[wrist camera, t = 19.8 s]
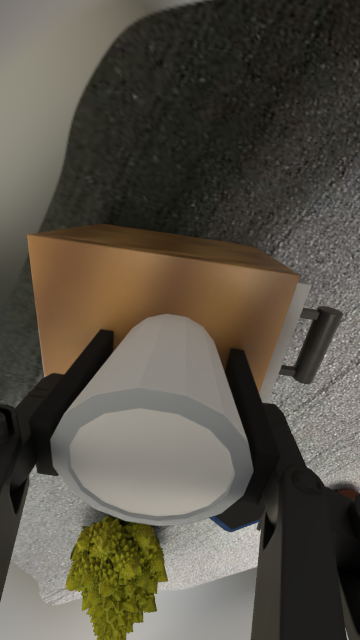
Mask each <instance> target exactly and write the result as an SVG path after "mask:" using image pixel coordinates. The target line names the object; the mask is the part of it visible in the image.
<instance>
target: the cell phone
mask: <svg viewBox="0 0 360 640" xmlns="http://www.w3.org/2000/svg"><path fill="white" fill-rule="evenodd" d="M265 509H266V508H265V504H264V499H263V496H262V498H261V500H260V503H259V505H255V504H248V503H241V502H238V500H237V501H236V502H235V503H233V504H232V505H231V506H230V507H228V508H227V509H226V510H225V511H224V512H222V513H221V514H218V515H215V516H212V517H209V518H210V519H211V520H212V521H214V522H215V523H216V524H218V525H219V526H220V527H221V528H223V529H224V530H226V531H228V532H233V531H236V530H239V529H241V528H244V527H247V526H249V525H252V524H255V523H257V522H259V521H260V519H261V517H262V515H263V513H264V511H265Z"/></svg>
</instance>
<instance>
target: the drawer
mask: <svg viewBox="0 0 360 640" xmlns="http://www.w3.org/2000/svg"><path fill="white" fill-rule="evenodd" d="M311 286H312V285H311V284H310V283H308V282H306V281H305V280H303V279H302V278H299V281H298V283H297V286H296V289H295V292H294V295H293V298H292V301H291V304H290V306H289V309H288V312H287V315H286V318H285V321H284V324H283V327H282V329H281V332H280V335H279V338H278V341H277V344H276V347H275V350H274V352H273V355H272V358H271V361H270V364H269V367H268V370H267V373H266V375H265V378H264V381H263V384H262V387H261V390H260V393H259V395H260V397H261V400H262V403H268V401H269V398H270V395H271V393H272V390H273V387H274V385H275V382H276V379H277V377H278V374H280V375H287V376H292V377H293V378H294V379H295V380H296V381H298V382H300V383H303V384H311V383H312V382H313V379H314V377H315V375H316V373H317V371H318V368H319V366H320V364H321V362H322V360H323V357H324V355H325V353H326V351H327V349H328V346H329V344H330V342H331V340H332V338H333V335H334V333H335V331H336V329H337V327H338V324H339V322H340V320H341V318H342V316H343V313H342V312H340V311H338V310H336V309H334V308H330V307H325V306H319V307H318V308H317V310H315V309H308V308H303V307H304V305H305V302H306V299H307V297H308V294H309V291H310V289H311ZM299 318H306V319H313V321H312V323H311V326H310V328H309V331H308V333H307V336H306V338H305V341H304V343H303V346H302V348H301V351H300V353H299V356H298V358H297V361H296V363H295V366H294V367H292V366H286V365H282V363H283V361H284V358H285V355H286V353H287V350H288V347H289V345H290V342H291V339H292V337H293V334H294V331H295V329H296V326H297V323H298V321H299Z"/></svg>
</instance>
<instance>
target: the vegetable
mask: <svg viewBox="0 0 360 640" xmlns="http://www.w3.org/2000/svg"><path fill="white" fill-rule="evenodd" d="M82 528H83V529H84V530H82V531H81V534H80V535H79V538H78V540H77V543H76V545H75V546H74V548H73V550H72V553H71V558H70V559H71V561H74V562H73V563H72V564H71V565H72V567H71V569H70V570H69V572H70V573H69V574H68V576H67V578H68V579H67V581H66V589H67V590H70V591H73V590H76V591H77V590H78V592H80V591H83V592H82V594H81V595H82V596H83V598H82V599H83V602H82V611H83V610H85V609H88V608H89V610H88V612H87V614H90V617H92V618H91V621H90V622H93V626H92V627H94V632H95V635H97V636H98V638H97V640H126V632H127V633H129V632H133V623H140V622H143V611H144V612H154V611H157V609H156V604H155V597H154V593H155V594H157V584H158V582H165V581H168V579H167V575H166V571H165V567H164V558H163V556H164V554H163V551H162V550H163V549H162V548H161V547H160V542H159V540H158V538H157V536H156V535H155V534H154V528H152V527H151V526H150V525H149V524H143V523H136V522H130V521H125V520H122V519H119V518H117V517H115V518H114V517H111V516H105V517H104V518H103V519H102V520H101V522H99V521H98V523H93V524H92V525H91V527H87V526H82Z"/></svg>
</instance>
